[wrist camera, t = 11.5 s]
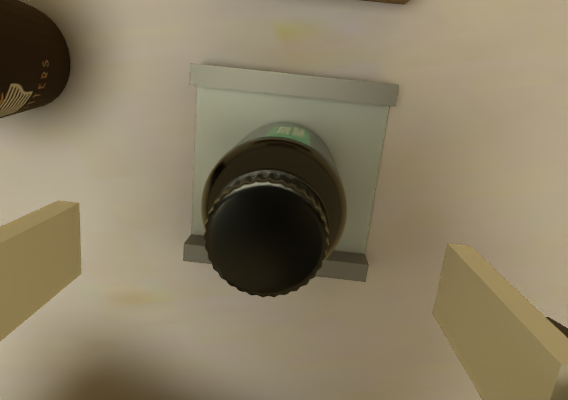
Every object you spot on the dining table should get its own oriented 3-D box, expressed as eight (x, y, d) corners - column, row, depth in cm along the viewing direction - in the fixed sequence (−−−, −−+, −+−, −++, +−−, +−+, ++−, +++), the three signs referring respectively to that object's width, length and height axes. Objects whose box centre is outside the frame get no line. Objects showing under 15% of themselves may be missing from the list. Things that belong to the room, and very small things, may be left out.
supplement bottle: (280, 97, 26) (258, 110, 14) (357, 171, 27) (395, 239, 15) (210, 175, 27) (140, 243, 16) (286, 243, 28) (271, 352, 17)
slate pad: (361, 266, 29) (365, 281, 27) (192, 246, 30) (183, 260, 27) (391, 84, 26) (399, 84, 24) (200, 65, 26) (190, 63, 24)
